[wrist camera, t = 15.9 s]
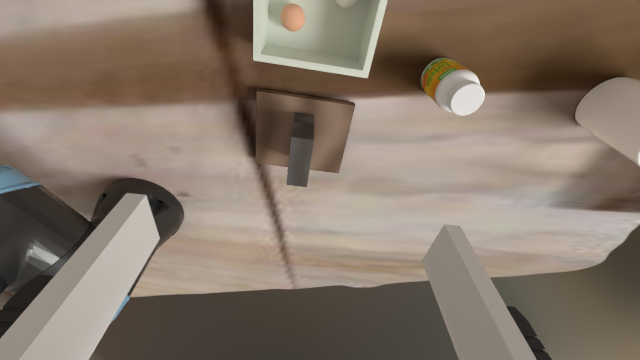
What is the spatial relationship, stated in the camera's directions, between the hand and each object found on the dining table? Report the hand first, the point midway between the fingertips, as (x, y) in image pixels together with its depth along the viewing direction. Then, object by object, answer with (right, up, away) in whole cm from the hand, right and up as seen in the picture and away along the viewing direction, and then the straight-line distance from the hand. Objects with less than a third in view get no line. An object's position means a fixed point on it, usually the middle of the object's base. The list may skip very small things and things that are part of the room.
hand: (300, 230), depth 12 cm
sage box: (+1, +25, +22) cm, 33 cm away
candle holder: (+46, +15, +31) cm, 57 cm away
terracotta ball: (-2, +22, +21) cm, 31 cm away
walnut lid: (-2, +10, +32) cm, 34 cm away
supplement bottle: (+19, +18, +28) cm, 38 cm away
